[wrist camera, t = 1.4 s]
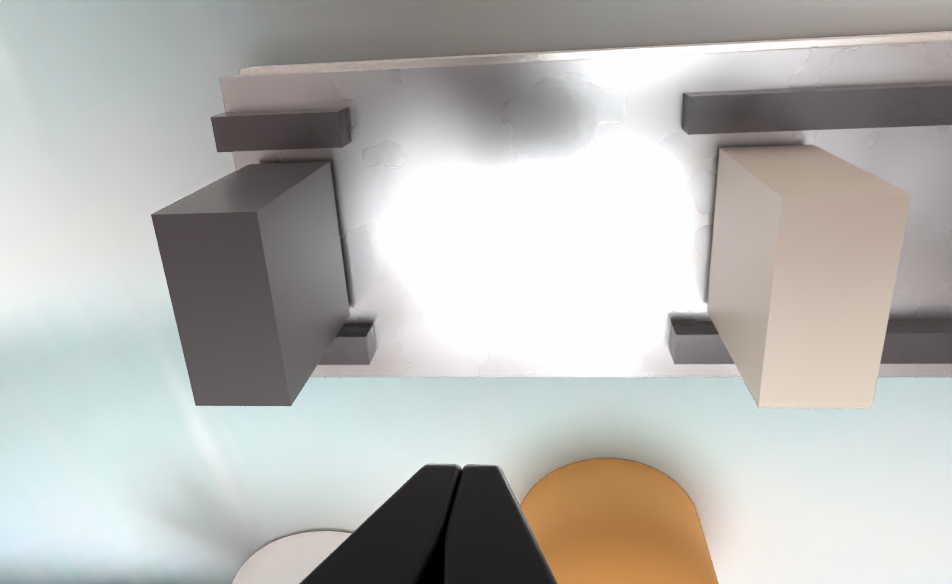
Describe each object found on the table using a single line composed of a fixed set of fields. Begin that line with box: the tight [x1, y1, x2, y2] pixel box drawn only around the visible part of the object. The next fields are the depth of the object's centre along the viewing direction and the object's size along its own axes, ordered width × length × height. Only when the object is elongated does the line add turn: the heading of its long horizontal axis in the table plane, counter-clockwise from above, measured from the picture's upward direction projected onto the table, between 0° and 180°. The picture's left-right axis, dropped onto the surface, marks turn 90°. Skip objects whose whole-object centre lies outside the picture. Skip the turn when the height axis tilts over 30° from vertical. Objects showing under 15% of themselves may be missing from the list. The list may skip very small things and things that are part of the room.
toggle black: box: [151, 161, 350, 406], centre depth 15 cm, size 2×4×4 cm, turn 4°
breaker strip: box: [211, 31, 952, 377], centre depth 17 cm, size 18×8×3 cm, turn 94°
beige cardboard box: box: [707, 145, 911, 409], centre depth 14 cm, size 2×4×4 cm, turn 4°
